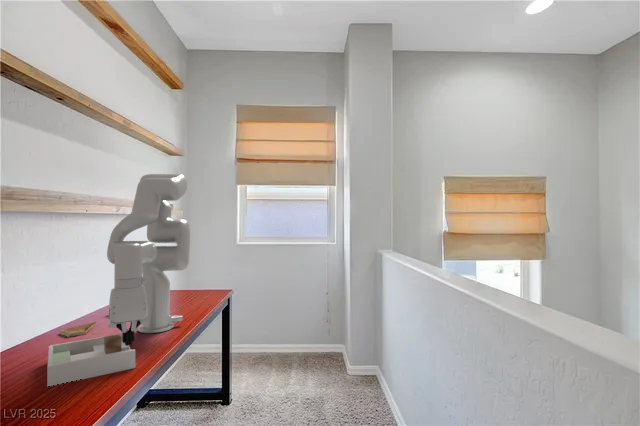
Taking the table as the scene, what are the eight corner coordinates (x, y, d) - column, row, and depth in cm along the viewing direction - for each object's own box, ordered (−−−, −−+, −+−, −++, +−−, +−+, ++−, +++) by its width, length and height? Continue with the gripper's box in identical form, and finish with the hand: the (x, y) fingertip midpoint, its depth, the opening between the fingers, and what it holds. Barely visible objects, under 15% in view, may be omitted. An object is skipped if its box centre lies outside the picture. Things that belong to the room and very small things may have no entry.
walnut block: (119, 347, 112) (119, 334, 112) (121, 351, 109) (121, 337, 109) (104, 350, 110) (104, 336, 110) (105, 354, 106) (105, 340, 106)
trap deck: (125, 348, 120) (125, 332, 120) (135, 367, 104) (135, 350, 104) (49, 362, 108) (49, 345, 108) (47, 386, 92) (47, 366, 92)
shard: (96, 326, 147) (96, 320, 147) (108, 329, 142) (108, 324, 142) (58, 335, 136) (58, 329, 136) (70, 339, 131) (70, 333, 131)
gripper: (152, 279, 119) (152, 336, 119) (98, 284, 111) (98, 346, 110) (157, 282, 113) (157, 342, 113) (101, 288, 105) (101, 353, 104)
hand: (128, 344), depth 112 cm, fingers closed
